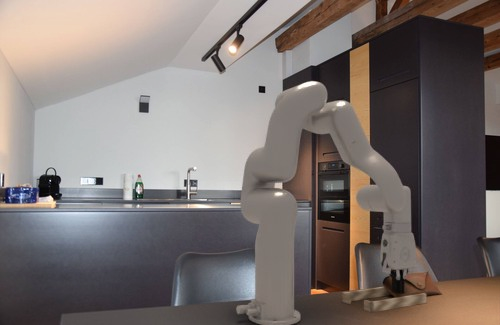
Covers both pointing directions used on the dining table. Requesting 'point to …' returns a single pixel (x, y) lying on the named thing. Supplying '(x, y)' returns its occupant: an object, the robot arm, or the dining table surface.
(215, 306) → the dining table surface
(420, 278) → the sunglasses case
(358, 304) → the dining table surface
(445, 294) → the dining table surface
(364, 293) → the wooden pieces
